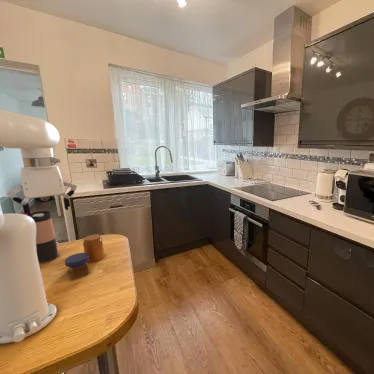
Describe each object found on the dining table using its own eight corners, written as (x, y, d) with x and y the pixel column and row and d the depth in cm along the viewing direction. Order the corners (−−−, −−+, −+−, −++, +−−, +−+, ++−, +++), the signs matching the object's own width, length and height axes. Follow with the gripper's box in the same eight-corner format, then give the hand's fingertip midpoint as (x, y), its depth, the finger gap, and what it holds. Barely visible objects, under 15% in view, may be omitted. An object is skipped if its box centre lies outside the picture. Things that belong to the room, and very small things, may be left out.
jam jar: (106, 257, 93) (103, 237, 91) (88, 264, 88) (84, 242, 86) (102, 252, 97) (99, 232, 95) (84, 258, 92) (80, 237, 90)
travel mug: (41, 255, 94) (32, 211, 90) (62, 252, 96) (54, 210, 92) (29, 264, 87) (19, 217, 83) (53, 261, 89) (43, 216, 85)
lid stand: (88, 274, 82) (87, 264, 81) (74, 279, 78) (72, 269, 78) (83, 264, 87) (81, 255, 87) (69, 269, 84) (67, 260, 83)
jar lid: (64, 262, 82) (63, 257, 82) (86, 255, 87) (85, 250, 87) (67, 269, 77) (66, 264, 77) (91, 261, 83) (90, 257, 82)
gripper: (71, 160, 80) (78, 204, 84) (1, 163, 68) (12, 215, 72) (74, 162, 75) (81, 209, 79) (-1, 165, 63) (12, 221, 67)
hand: (48, 212), depth 75 cm, fingers open, 9 cm apart
